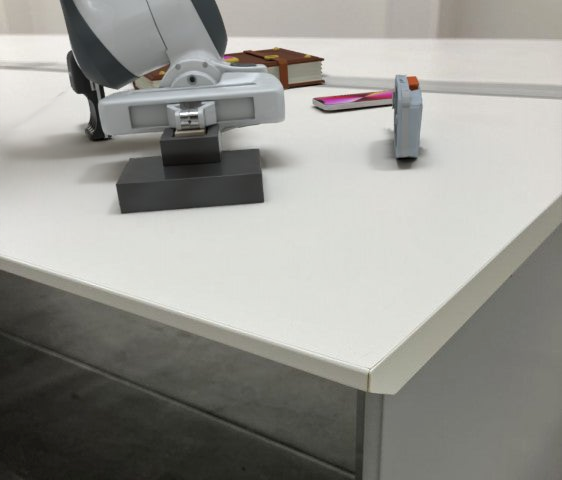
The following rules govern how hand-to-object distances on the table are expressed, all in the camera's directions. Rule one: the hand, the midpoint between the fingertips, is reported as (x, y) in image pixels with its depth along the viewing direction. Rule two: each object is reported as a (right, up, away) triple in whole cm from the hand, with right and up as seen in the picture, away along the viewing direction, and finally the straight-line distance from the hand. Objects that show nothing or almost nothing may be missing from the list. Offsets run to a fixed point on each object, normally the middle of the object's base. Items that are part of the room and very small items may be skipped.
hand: (189, 121), depth 69 cm
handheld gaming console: (+24, 0, +10) cm, 26 cm away
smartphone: (+22, +16, +37) cm, 46 cm away
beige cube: (0, -3, +2) cm, 3 cm away
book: (-1, +29, +60) cm, 67 cm away
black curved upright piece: (-17, +8, +29) cm, 34 cm away
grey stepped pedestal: (0, -7, +1) cm, 7 cm away
